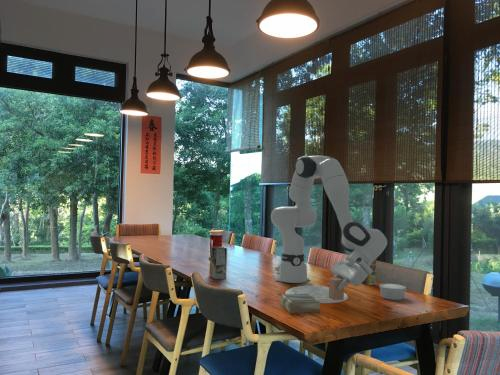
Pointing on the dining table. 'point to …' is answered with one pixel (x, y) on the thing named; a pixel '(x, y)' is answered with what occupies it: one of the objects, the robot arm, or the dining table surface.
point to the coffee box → (218, 262)
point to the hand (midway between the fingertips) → (335, 286)
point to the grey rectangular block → (335, 289)
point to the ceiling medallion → (315, 293)
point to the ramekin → (392, 291)
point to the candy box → (371, 275)
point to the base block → (300, 303)
